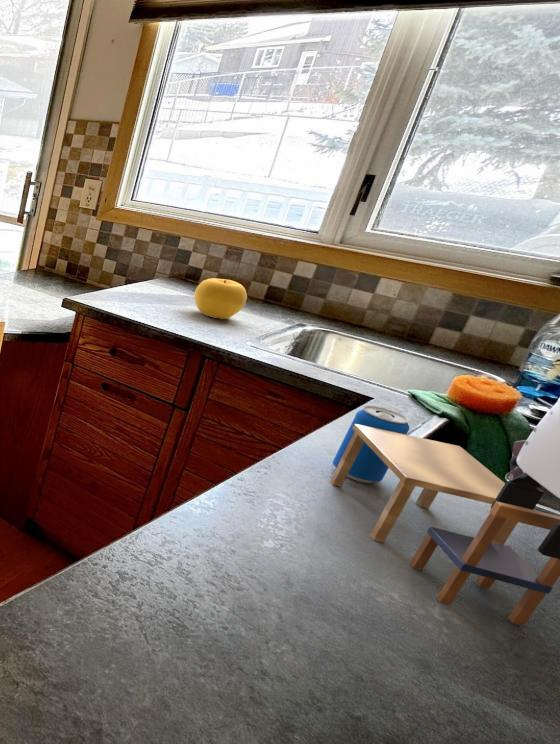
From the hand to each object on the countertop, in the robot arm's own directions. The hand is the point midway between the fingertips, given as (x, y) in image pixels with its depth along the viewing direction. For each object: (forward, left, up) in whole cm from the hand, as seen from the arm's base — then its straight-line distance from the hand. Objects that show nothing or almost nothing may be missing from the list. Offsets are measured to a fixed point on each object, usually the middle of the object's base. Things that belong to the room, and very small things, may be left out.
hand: (531, 533), depth 72 cm
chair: (0, -4, -12) cm, 13 cm away
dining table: (0, -20, -12) cm, 24 cm away
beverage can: (+1, -33, -13) cm, 36 cm away
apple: (+4, -126, -13) cm, 127 cm away
